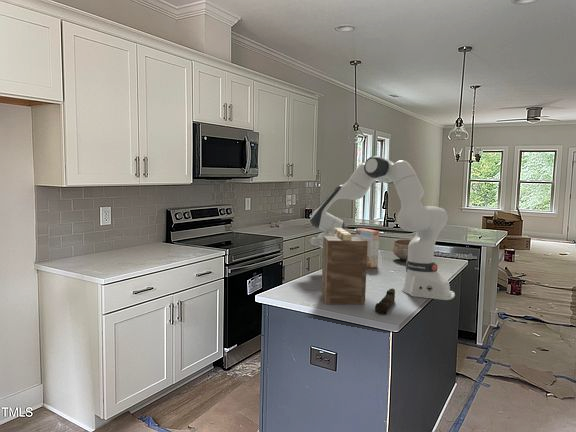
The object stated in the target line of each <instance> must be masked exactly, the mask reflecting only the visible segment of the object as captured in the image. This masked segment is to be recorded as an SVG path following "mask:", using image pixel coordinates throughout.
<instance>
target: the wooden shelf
mask: <svg viewBox="0 0 576 432" xmlns="http://www.w3.org/2000/svg"><path fill="white" fill-rule="evenodd" d="M367 247H368V241H367V240H365V239H364V238H362V237H356V236H352V241H350V240H342V239H341V238H340V237H339V236H323V248H322V267H321V268H322V269H321V270H322V271H321V272H322V274H321V298H322V300H323V302H324V303H325V305H365V304H366V290H367V288H366V286H367V268H368V267H367Z"/></svg>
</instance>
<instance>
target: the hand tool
mask: <svg viewBox="0 0 576 432" xmlns="http://www.w3.org/2000/svg"><path fill="white" fill-rule="evenodd" d="M395 294H396V290H395V288H389V289H388V290H387V291H386V293H385V296H384V297H383V298H382V299H381V300H380V301H379V302H377V303H376V304H375V307H374V312H375V313H376V314H377V315H380V316H381V315H382V316H384V315H387V313H388V311H389V309H390V308H391V306H392V305H394V304H395V300H396V299H395V298H396V296H395Z"/></svg>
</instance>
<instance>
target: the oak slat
mask: <svg viewBox="0 0 576 432" xmlns="http://www.w3.org/2000/svg"><path fill="white" fill-rule="evenodd" d="M334 233H335V234H336V235H337V236H339V237H340V238H341V239H342V240H350V241H352V237H353V236H352V233H350V232H348V231H347V230H345V229H342V228H335V231H334Z"/></svg>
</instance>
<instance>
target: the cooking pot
mask: <svg viewBox="0 0 576 432" xmlns="http://www.w3.org/2000/svg"><path fill="white" fill-rule="evenodd" d="M412 239H413V238H396V239H394V243H393V245H392V252H393V254H394V256H396V257H397V258H399V259H400V260H401V261H403V262H407V260H408V245H409V243H410V241H411V240H412Z"/></svg>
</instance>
